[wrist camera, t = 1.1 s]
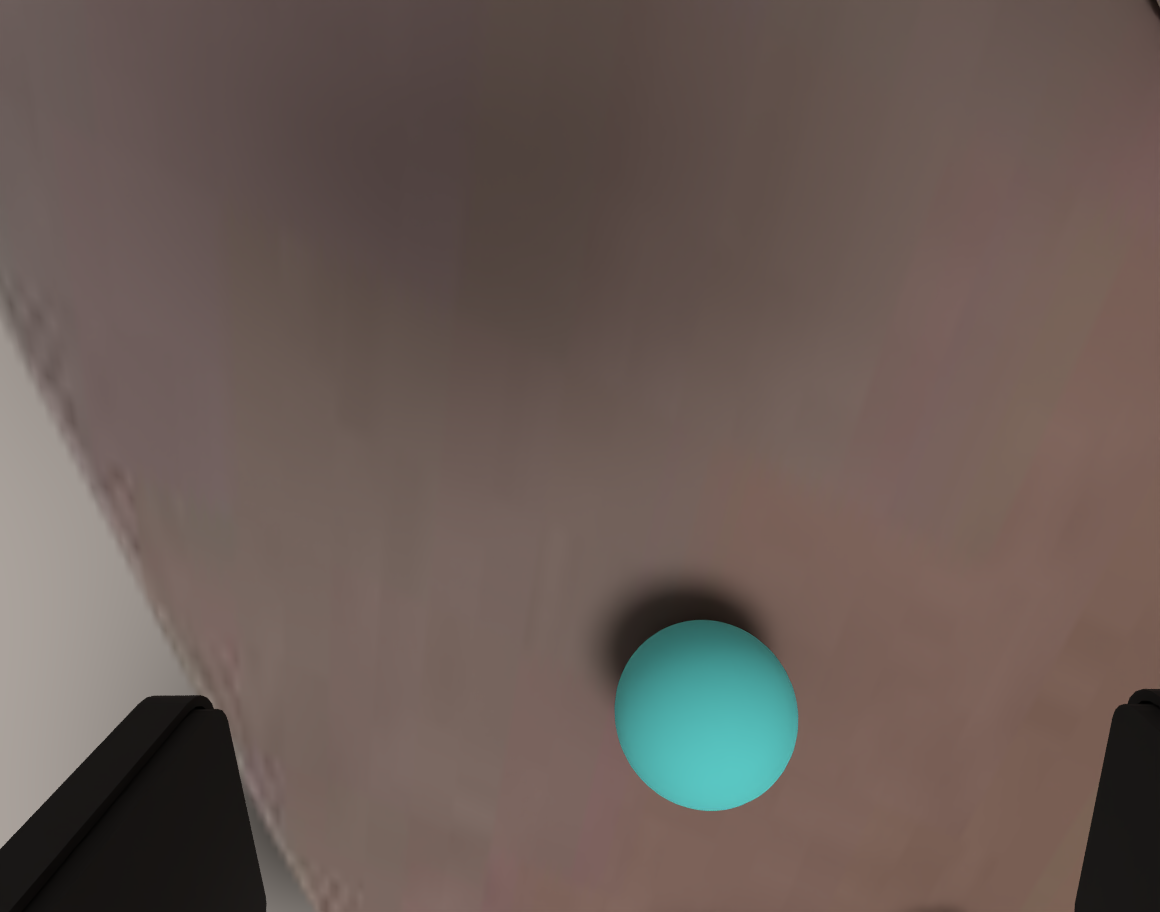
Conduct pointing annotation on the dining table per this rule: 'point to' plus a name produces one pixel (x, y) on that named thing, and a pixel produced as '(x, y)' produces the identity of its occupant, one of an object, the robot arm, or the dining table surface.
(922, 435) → the dining table surface
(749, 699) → the ball
